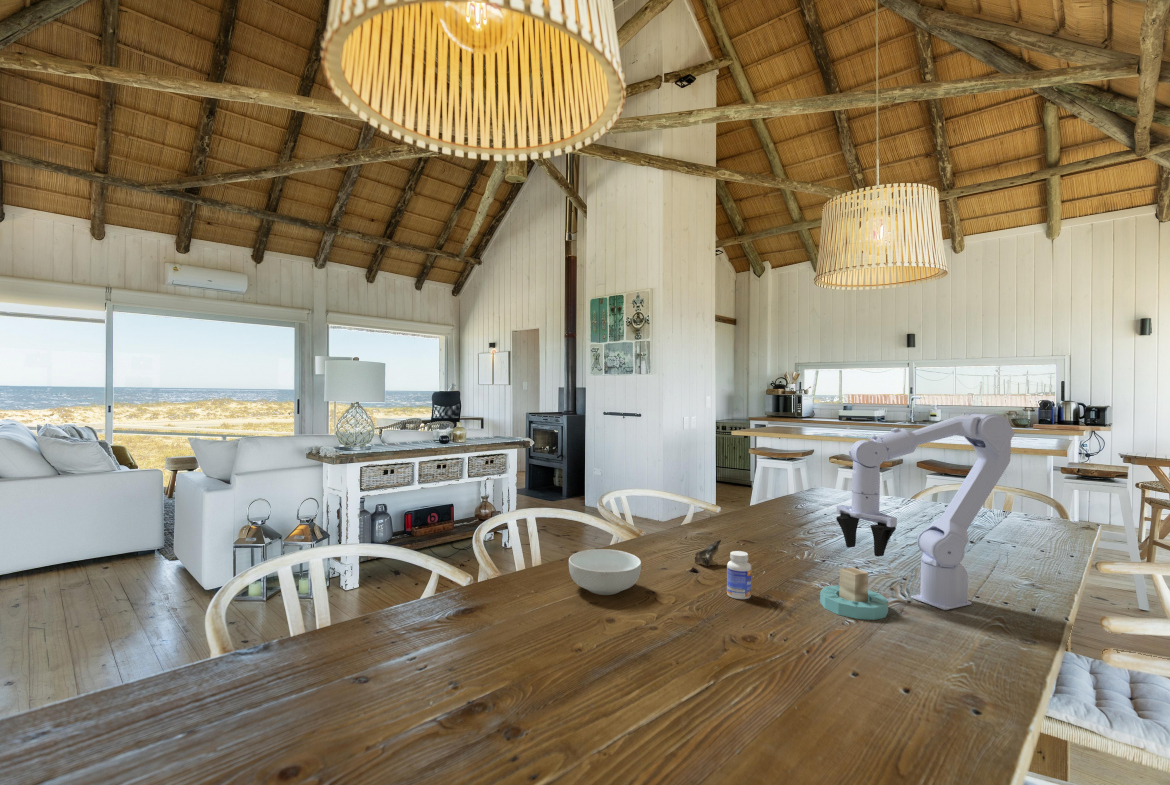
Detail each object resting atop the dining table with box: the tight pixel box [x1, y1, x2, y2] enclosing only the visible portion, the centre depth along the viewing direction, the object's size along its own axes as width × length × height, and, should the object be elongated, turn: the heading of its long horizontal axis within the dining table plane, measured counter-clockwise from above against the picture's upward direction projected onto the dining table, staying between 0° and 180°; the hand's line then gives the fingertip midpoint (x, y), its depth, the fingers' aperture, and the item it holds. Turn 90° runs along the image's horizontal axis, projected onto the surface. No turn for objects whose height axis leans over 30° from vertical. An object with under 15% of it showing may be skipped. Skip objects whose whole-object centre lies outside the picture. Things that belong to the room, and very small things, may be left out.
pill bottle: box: [726, 550, 752, 600], centre depth 128 cm, size 5×5×10 cm
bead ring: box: [819, 584, 889, 621], centre depth 122 cm, size 13×13×2 cm
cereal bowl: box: [568, 548, 642, 596], centre depth 131 cm, size 17×17×7 cm
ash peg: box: [839, 566, 869, 602], centre depth 122 cm, size 4×4×8 cm
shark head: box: [694, 539, 722, 567], centre depth 151 cm, size 8×6×7 cm
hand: (864, 551), depth 129 cm, fingers open, 7 cm apart
